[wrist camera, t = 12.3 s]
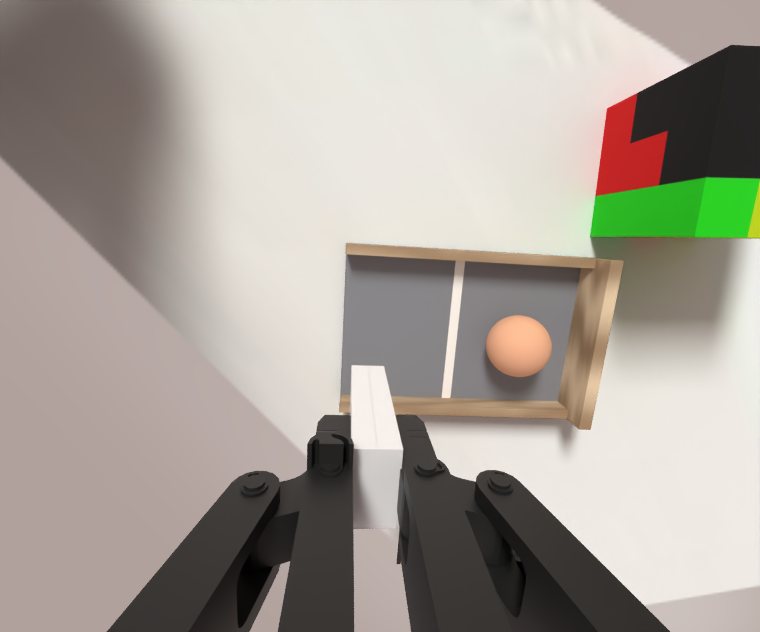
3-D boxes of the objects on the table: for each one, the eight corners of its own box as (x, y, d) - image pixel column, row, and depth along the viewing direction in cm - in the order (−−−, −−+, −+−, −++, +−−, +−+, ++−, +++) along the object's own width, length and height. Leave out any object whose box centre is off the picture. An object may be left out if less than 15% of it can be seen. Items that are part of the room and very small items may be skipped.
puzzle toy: (724, 112, 30) (902, 53, 20) (699, 238, 32) (849, 238, 22) (606, 108, 29) (731, 45, 19) (589, 236, 31) (694, 236, 22)
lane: (346, 242, 30) (346, 243, 30) (589, 257, 32) (594, 258, 31) (340, 399, 33) (340, 402, 32) (563, 406, 35) (566, 409, 34)
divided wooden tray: (346, 243, 30) (345, 243, 26) (594, 257, 31) (624, 260, 28) (340, 402, 32) (338, 423, 29) (566, 409, 34) (590, 429, 30)
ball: (566, 317, 29) (508, 306, 32) (537, 327, 26) (476, 314, 29) (558, 376, 30) (502, 359, 34) (529, 393, 27) (471, 373, 30)
